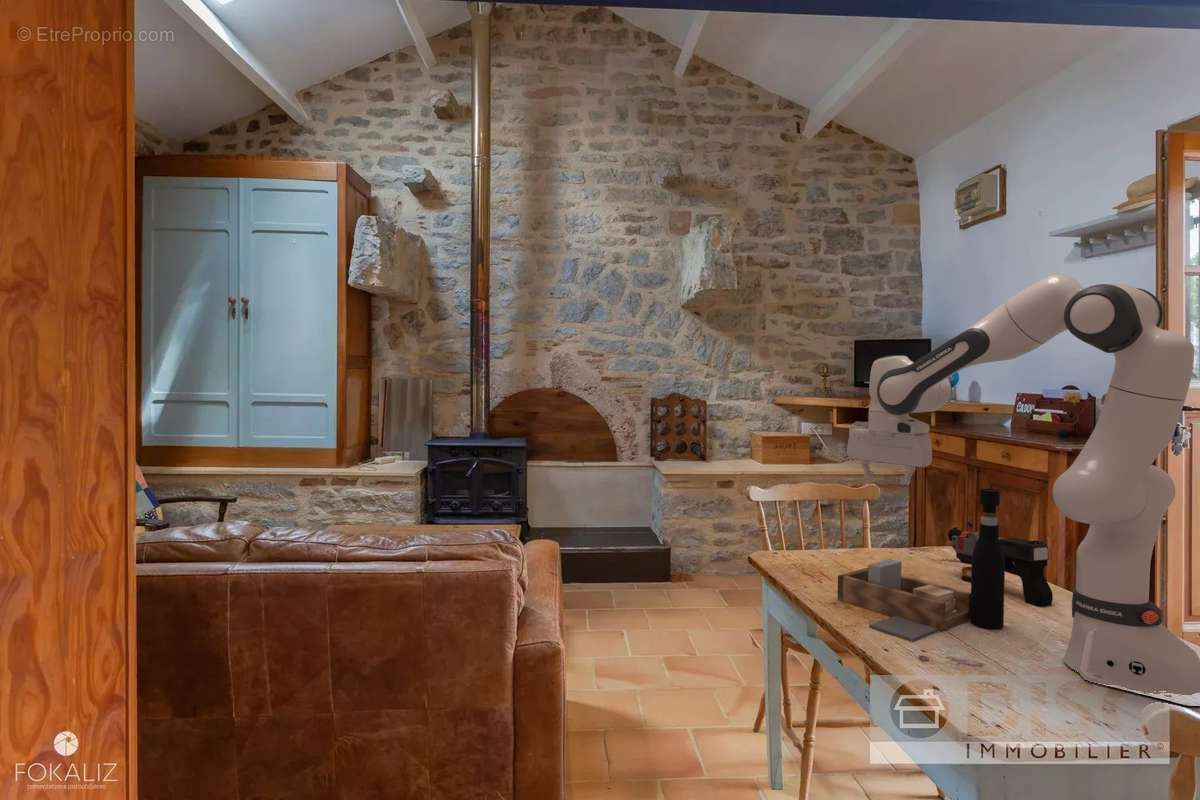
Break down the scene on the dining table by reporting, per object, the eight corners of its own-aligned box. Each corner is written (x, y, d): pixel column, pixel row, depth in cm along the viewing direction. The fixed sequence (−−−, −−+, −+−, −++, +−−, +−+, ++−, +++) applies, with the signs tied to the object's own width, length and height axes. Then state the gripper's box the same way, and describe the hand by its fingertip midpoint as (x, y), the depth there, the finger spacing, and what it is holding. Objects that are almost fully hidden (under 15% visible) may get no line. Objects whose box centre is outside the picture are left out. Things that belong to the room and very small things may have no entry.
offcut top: (953, 600, 157) (953, 591, 157) (937, 604, 154) (937, 595, 154) (929, 593, 162) (929, 584, 162) (913, 597, 159) (913, 588, 159)
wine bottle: (1007, 630, 151) (1011, 492, 150) (975, 628, 152) (978, 491, 151) (997, 620, 157) (1000, 488, 156) (966, 618, 158) (969, 486, 157)
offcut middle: (955, 610, 158) (955, 599, 158) (942, 617, 153) (942, 605, 153) (924, 602, 163) (924, 592, 163) (910, 609, 159) (910, 598, 158)
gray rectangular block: (900, 602, 169) (901, 561, 169) (879, 609, 164) (880, 567, 164) (889, 599, 172) (890, 559, 171) (867, 606, 167) (868, 564, 166)
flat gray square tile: (938, 631, 150) (938, 628, 150) (912, 641, 144) (912, 638, 144) (894, 618, 158) (895, 615, 158) (869, 627, 152) (869, 624, 152)
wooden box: (971, 619, 158) (972, 593, 157) (941, 631, 150) (942, 604, 150) (868, 590, 179) (869, 567, 178) (837, 599, 171) (837, 575, 171)
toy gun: (961, 579, 194) (960, 525, 194) (1056, 605, 167) (1054, 542, 168) (942, 581, 192) (941, 526, 192) (1035, 608, 165) (1034, 544, 165)
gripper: (842, 421, 173) (841, 476, 173) (921, 427, 156) (920, 488, 157) (857, 420, 176) (856, 474, 177) (936, 426, 160) (934, 486, 161)
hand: (886, 481), depth 167 cm, fingers open, 8 cm apart
